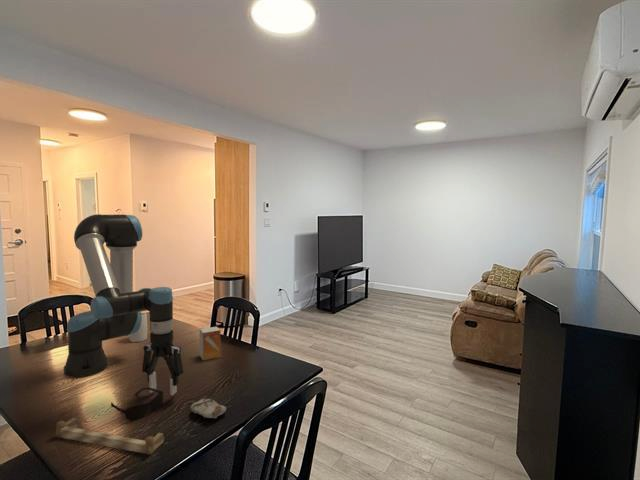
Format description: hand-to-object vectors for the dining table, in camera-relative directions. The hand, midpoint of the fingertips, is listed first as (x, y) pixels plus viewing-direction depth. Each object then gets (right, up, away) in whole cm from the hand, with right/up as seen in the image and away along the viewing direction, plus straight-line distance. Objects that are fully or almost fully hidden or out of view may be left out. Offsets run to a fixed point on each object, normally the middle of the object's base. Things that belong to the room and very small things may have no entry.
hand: (163, 392), depth 124 cm
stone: (+20, -3, -15) cm, 26 cm away
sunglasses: (-6, -3, -7) cm, 10 cm away
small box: (+6, +1, +35) cm, 35 cm away
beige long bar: (-5, -3, -24) cm, 25 cm away
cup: (-37, +2, +53) cm, 65 cm away
